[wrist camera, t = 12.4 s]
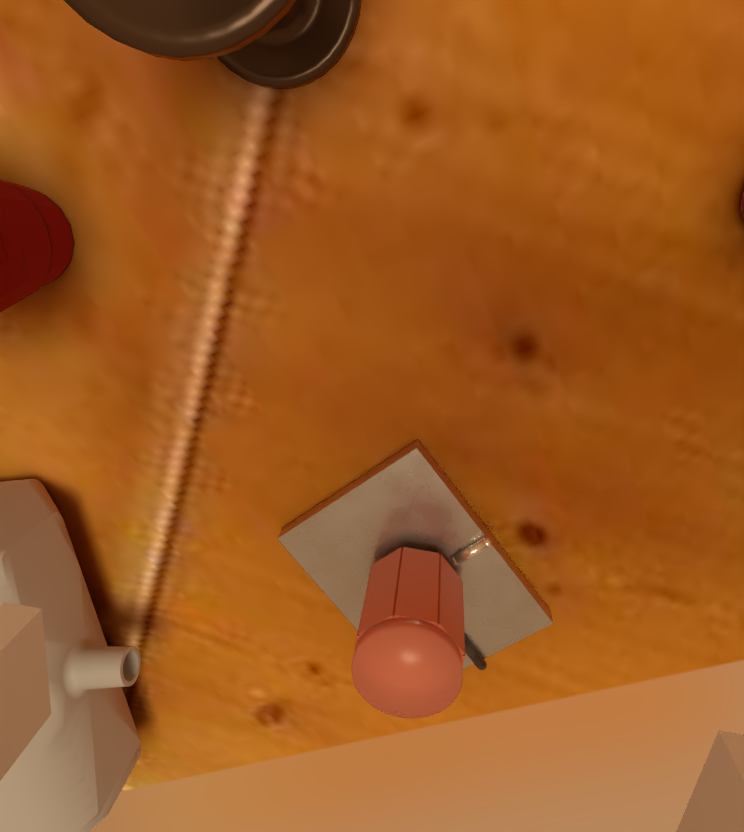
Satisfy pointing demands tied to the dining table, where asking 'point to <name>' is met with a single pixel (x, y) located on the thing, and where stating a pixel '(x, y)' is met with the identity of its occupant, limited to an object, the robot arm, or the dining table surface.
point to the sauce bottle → (742, 205)
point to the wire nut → (410, 635)
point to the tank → (64, 678)
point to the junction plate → (419, 529)
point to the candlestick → (234, 33)
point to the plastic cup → (30, 242)
